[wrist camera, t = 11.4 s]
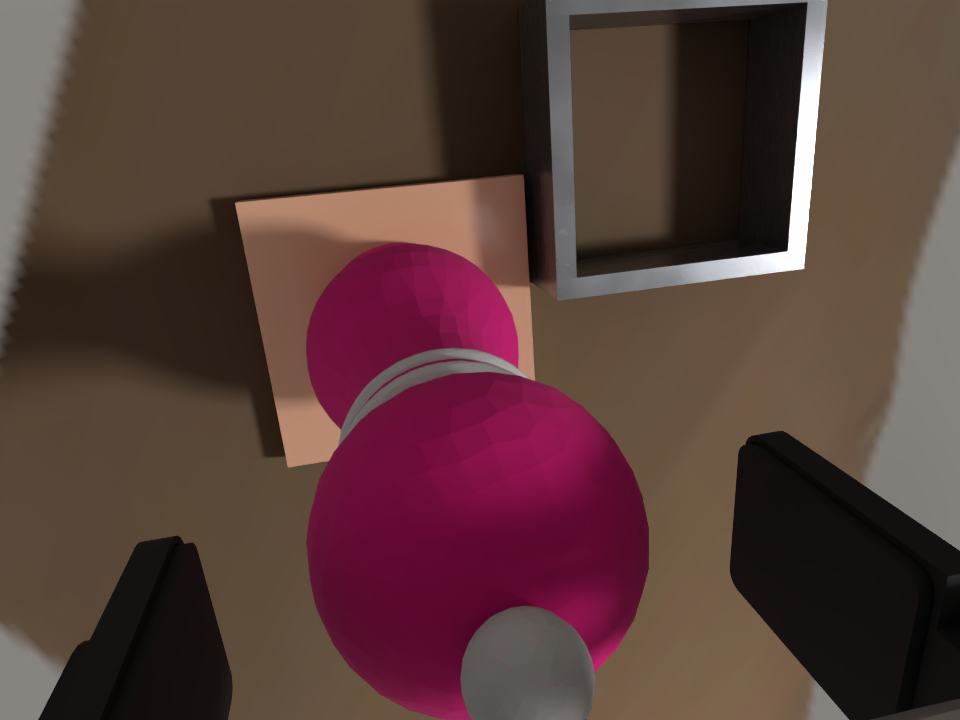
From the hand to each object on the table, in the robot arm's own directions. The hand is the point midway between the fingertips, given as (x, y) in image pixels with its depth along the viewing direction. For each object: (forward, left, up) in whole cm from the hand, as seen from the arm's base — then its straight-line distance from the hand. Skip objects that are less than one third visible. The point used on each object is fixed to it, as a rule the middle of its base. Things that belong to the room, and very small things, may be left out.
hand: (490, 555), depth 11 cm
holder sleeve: (-6, +11, -18) cm, 22 cm away
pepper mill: (0, 0, -17) cm, 17 cm away
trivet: (0, 0, -18) cm, 18 cm away
